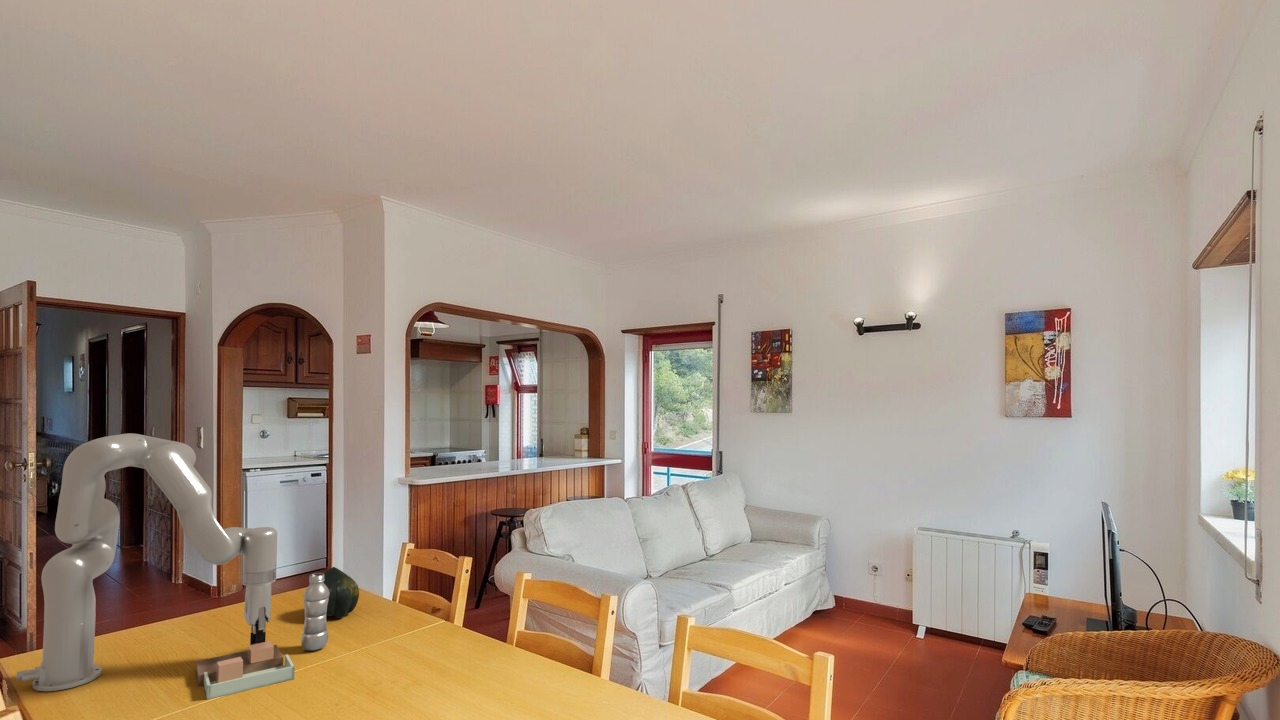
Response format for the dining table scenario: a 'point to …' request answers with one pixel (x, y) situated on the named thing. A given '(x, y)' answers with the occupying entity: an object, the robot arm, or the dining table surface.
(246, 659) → the board
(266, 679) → the tray
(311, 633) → the plastic bottle
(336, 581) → the squash
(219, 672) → the tile
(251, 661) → the tile
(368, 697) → the dining table surface
